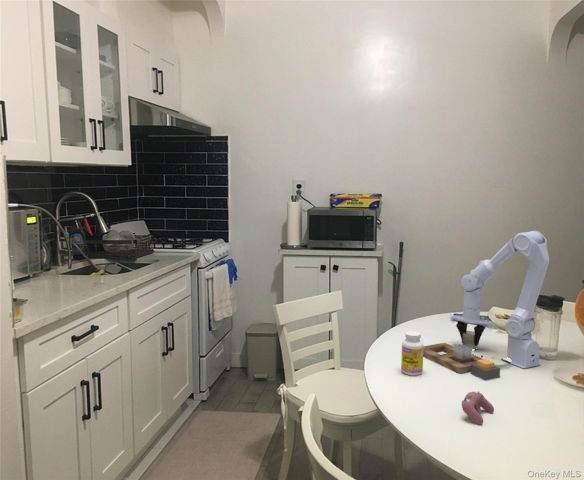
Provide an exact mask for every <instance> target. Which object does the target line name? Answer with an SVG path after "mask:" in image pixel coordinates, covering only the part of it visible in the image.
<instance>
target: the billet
mask: <svg viewBox="0 0 584 480" xmlns="http://www.w3.org/2000/svg"><path fill="white" fill-rule="evenodd" d="M472 352H473V351H472V348H469V347H467V346H464V345H463V344H461V345H454V350H453V360H454V361H456V362H458V363H461V364H464V363H469V362H471V354H473V353H472Z"/></svg>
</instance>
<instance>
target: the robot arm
mask: <svg viewBox="0 0 584 480" xmlns="http://www.w3.org/2000/svg"><path fill="white" fill-rule="evenodd" d="M547 244H548V240H547V238H546V237H545V236H544V235H543V234H542V233H541V232H540V231H538V230H531V231H526V232H523V231H522V232H519V233H517V234H515V235H514V237H511V238H510V239H508V241H507V242H506V244H504V245H503V246H502V247H501V248H500V249H499V250H498V251H497V252H496V253H495V254H494V255H493V256H492V257H491V258H490V259H483V260H480V261H479V262H478V265H477V266H476V267H475V268H474V269H471V270H470V271H469V274H464V275H463V277H462V278H461V280H460V286H461V287H462V288H463V303H462V315H454V314H452V315H451V316H450V322H455V323H457V324H456V325H455V327H456V329H457V330H458V332H459V336H460V340H461V343H462V344H463V333H464V332H466V331H468V330H467V329H468V325H471V326H472V325H473V326H474V327H473V330H474V331H473V332H475V346H477V345H478V346H479V343H480V340H481V337H482V335H483V333H484V331H485V329H486V328H488V329H492V328H493V323H494V322H493V321H489V320H486V319H482V318H481V297H482V296H481V295H482V294H481V293H482V288H483V287H484V286H485V283H486V282H487V281H488V280H490V279H491V277H493V276H494V275H496V273H498V267H499V266H500V265H501V264H503V263H504V262H505V261H506V260H507V259H509V258H510V257H511V256H512V255H514V254H515V253H518V252H519V253H520V254H521V255H522V256H524V258H526V260H527V262H528V263H529V265H528V269H527V272H526V275H525V278H524V282H523V285H522V288H521V292H520V295H519V298H518V302H517V304H516V307H515V309H514V310H513V311H512V313H511V314H510V317H509V318H508V319H507V321H506V322H505V324H504V330H505V332H506V334H507V348H506V349H507V352H506V354H507V355H506V357H508V358H510V359H511V360H512V363H510V364H511V365H514V366H516V367H519V368H521V369H528V368H531V367H532V368H533V367H537V366H540V365H541V363H540V344H539V343H538V341H536V340H534V338H533V336H532V332H533V331H534V330H535V328H536V315H537V314H536V312H535V309H536V306H537V302H538V298H539V295H540V292H541V289H542V286H543V284H544V280H545V278H546V275H547V271H548V267H549V265H550V255H549V251H548V248H547V246H548V245H547Z"/></svg>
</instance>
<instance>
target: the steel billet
mask: <svg viewBox="0 0 584 480" xmlns="http://www.w3.org/2000/svg"><path fill="white" fill-rule="evenodd" d="M462 345H464V346H467V347H469V348H472V349H476V348H478V347H479V345H477V346H475V332H474V331H472V330H467V331H466V332H464V333H463V343H462ZM478 349H479V348H478ZM476 350H477V349H476Z"/></svg>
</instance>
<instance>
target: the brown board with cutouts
mask: <svg viewBox="0 0 584 480" xmlns="http://www.w3.org/2000/svg"><path fill="white" fill-rule="evenodd" d="M454 346H455V345H454ZM454 346H453V345H451V344H449V343H447V342H441V343H435V344H430V345H423V358H425V359H428V360H430V361H432V362H434V363H436V364H437V365H439V366H442V367H444V368H446V369H449V370H451V371H453V372H454V373H457V374H459V375H462V374H466V373H467V374H468V373H471V364H476V363H477V360H482V359H484V358H483V357H480V356H478V355H475V354H473V353H471V362H469V363H464V364H461V363H458V362H456V361H454V360H453V350H454ZM441 352H444V353H441Z"/></svg>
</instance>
